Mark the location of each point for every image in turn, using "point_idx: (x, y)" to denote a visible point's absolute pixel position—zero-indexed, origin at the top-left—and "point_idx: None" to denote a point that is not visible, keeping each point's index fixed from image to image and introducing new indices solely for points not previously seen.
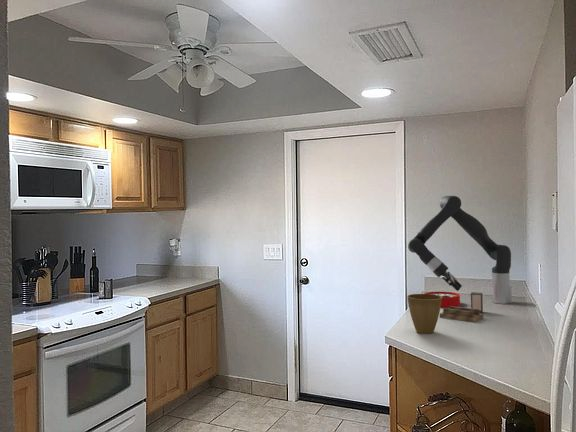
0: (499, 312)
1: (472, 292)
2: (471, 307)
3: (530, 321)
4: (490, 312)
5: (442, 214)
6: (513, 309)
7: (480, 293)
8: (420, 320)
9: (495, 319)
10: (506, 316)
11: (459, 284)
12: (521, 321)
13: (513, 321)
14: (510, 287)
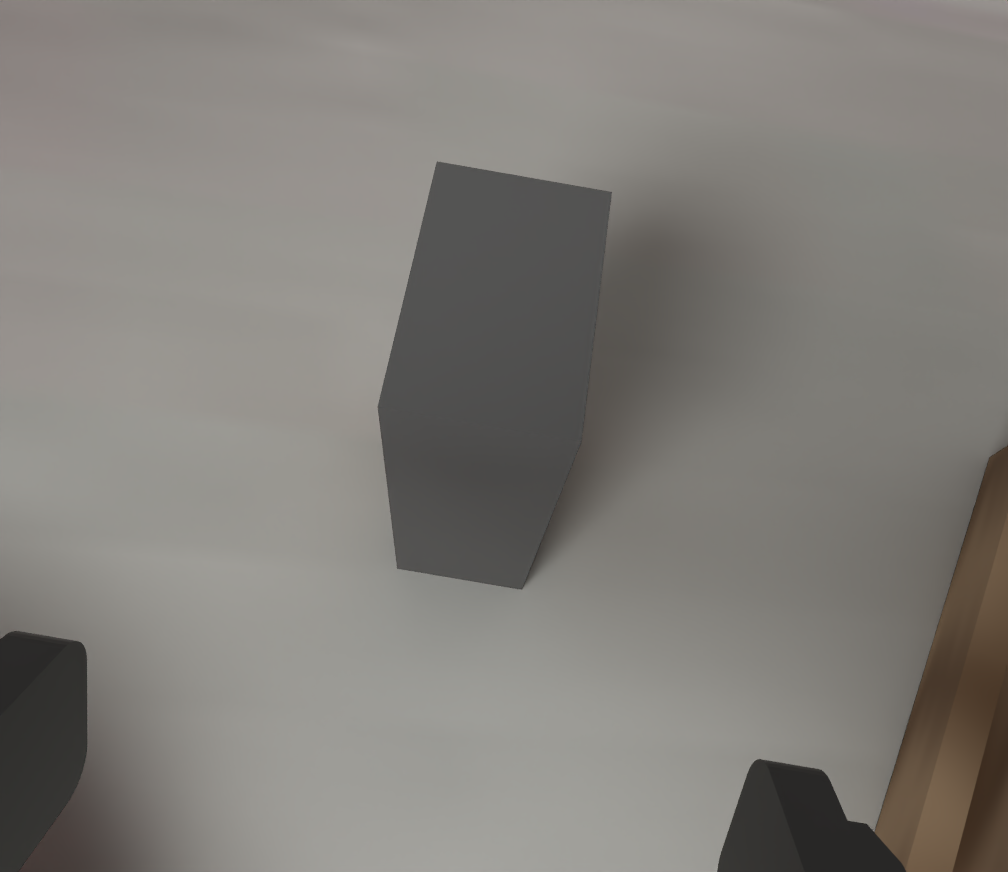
0: None
1: (411, 379)
2: (532, 558)
3: (925, 6)
4: None
5: None
6: (235, 11)
7: (562, 215)
8: None
9: (968, 311)
10: (726, 162)
11: (6, 744)
12: (962, 77)
13: (999, 146)
14: None
